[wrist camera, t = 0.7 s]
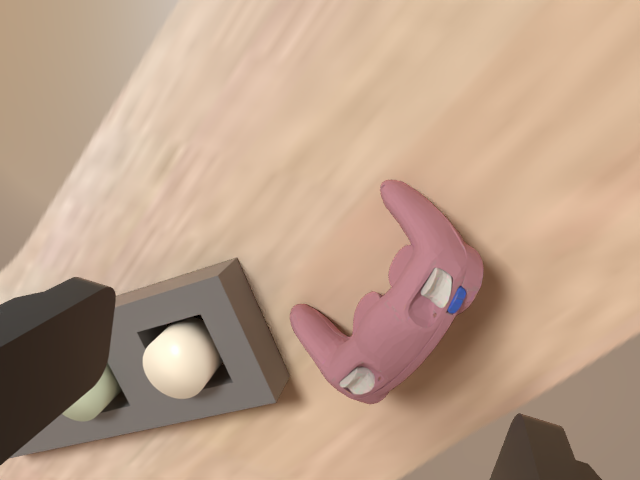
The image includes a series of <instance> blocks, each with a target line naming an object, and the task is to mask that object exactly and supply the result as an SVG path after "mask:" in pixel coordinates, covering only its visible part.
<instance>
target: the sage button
mask: <svg viewBox="0 0 640 480" xmlns="http://www.w3.org/2000/svg"><path fill="white" fill-rule="evenodd" d="M121 391H122V389H121V387H120V385H119V383H118V381H117V379H116V377H115V376H114V374H113V372H112V370H111V368H110V366H109V364H108V362H107V365H106V368H105V371H104V373H103V375H102V376H101V378H100V380H99V381H98V382H97V384H96V385H95V386H94V387H93V388H92V389H91V390H89V391H88V392H87V393H86V394H85V395H83V396H82V397H81V398H80V399H79V400H78V401H76V402H75V403H74V404H73V405H72V406H70V407H69V408H68V409H67V410H66V411H64V412H63V413H62V414H63V415H64V416H66V417H68V418H70V419H72V420H76V421H89V420H92V419H94V418H95V417H96V416H97V415H98V414H99V413H100V412H101V411H102V410H103V409H104V408H105V407H106V406H107V405H108V404H109V403H110V402H111V401H112V400H113V399H114V398H115V397H116V396H117V395H118V394H119V393H120V392H121Z"/></svg>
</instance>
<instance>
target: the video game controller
mask: <svg viewBox="0 0 640 480" xmlns="http://www.w3.org/2000/svg"><path fill="white" fill-rule="evenodd" d="M380 191H381V197H382V199H383V202H384V204H385V206H386V208H387V209H388V210H389V211H390V213H391V214H392V215H393V217H394V218H395V219H396V220H397V222H398V223H399V224H400V226H401V228H402V229H403V231H404V232H405V234H406V235H407V237H408V239H409V240H410V242H411V245H407V246H404V247H403V248H402V249H400V250H399V252H398V253H397V254H396V256H395V257H394V259H393V261H392V263H391V266H390V269H389V282H390V285H391V286H392V288H391V289H390V290H389V291H388V292H387V293H386V294H385V295H383V296H382V295H381V294H379V293H376V292H370V293H367V294H366V295H365V296H364V297H363V298H362V299H361V300H360V302H359V303H358V305H357V308H356V310H355V313H354V320H353V334H352V336H351V337H348V336H347V335H345V334H343V333H342V332H340V331H339V330H338V329H337V328H336V326H335V325H334V324H333V323H332V322H331V321H330V320H329V319H327V318H326V317H325V316H324V315H322V314H321V313H320V312H319V311H317V310H316V309H314V308H312V307H310V306H308V305H307V304H297V305H295V306H294V307H293V308H292V310H291V313H290V321H291V326H292V328H293V330H294V333H295V334H296V336H297V337H298V339H299V340H300V342H301V343H302V345H303V346H304V348H305V349H306V351H307V352H308V353H309V355H310V356H311V357H312V359H313V360H314V362H315V363H316V365H317V366H318V368H319V369H320V371H321V373H322V374H323V376H324V377H325V379H326V380H327V381H328V382H329V383H330V384H331V385H332V386H333V387H334V388H335V389H337V390H338V391H339V392H341V393H343V394H344V395H346V396H347V397H349V398H351V399H354V400H357V401H360V402H364V403H367V404H375V403H378V402H379V401H381V400H382V399H384V398H385V397H386V395H387V394H388V393H389V391H390V390H392V389H393V388H395V387H396V386H398V385H399V384H400V383H402V382H403V381H404V380H405V379H406V378H407V377H409V376H410V375H411V374H412V373H413V372H414V371H415V370H416V369H417V368H418V367H419V366H420V365H421V364H422V363H423V362H424V360H425V359H426V358H427V357H428V356H429V354H430V353H431V352H432V351H433V350H434V348H435V347H436V346H437V344H438V343H439V342H440V340H441V339H442V337H443V336H444V335H445V333H446V332H447V330H448V328H449V327H450V325H451V323H452V322H453V320H454V318H455V316H456V315H458V314H460V313H462V312H463V311H464V310H465V309H467V308H468V307H469V306H470V304H471V303H472V302H473V300H474V299H475V297H476V295H477V293H478V291H479V289H480V287H481V283H482V279H483V271H484V270H483V262H482V259H481V257H480V255H479V253H478V252H477V250H475V249H474V248H473V247H471V246H469V245H467V244H466V243H465V242H464V240H463V239H462V237H461V235H460V234H459V232H458V231H457V230H456V229H455V227H454V226H453V225H452V224H451V222H450V221H449V220H448V219H447V218H446V217H445V216H444V215H443V214H442V213H441V212H440V211H439V210H438V209H437V208H436V207H435V206H434V205H433V204H432V203H431V202H430V201H429V200H428V199H427V198H425V197H424V196H423V195H422V194H421V193H419V192H418V191H416V190H415V189H413V188H412V187H410V186H409V185H407V184H406V183H404V182H401V181H397V180H386V181H384V182H382V184H381V187H380Z"/></svg>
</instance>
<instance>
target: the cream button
mask: <svg viewBox="0 0 640 480" xmlns="http://www.w3.org/2000/svg"><path fill="white" fill-rule="evenodd" d="M222 362H223V360H222V358H221V356H220V354H219V352H218V350H217V348H216V346H215V343H214V341H213V339H212V337H211V335H210V333H209V331H208V329H207V327H206V325H205V322H204V321H203V320H201V319H198V318H194V317H189V318H185V319H182V320H178V321H175V322H173V323H172V324H170V325H169V326H168V327H167V328H166V329H165V330H164V331H163V332H162V333H161V334H160V335H159V336H158V337H157V338H156V339H155V340H154V341H153V342H152V343H151V344H149V346H148V347H147V348H146V350H145V352H144V355H143V368H144V371H145V374H146V376H147V378H148V380H149V381H150V382H151V384H152V385H153V386H154V387H155V388H156V389H157V390H159V391H160V392H162V393H163V394H165V395H167V396H170V397H173V398H177V399H187V398H191V397H193V396H195V395H197V394H198V393H199V392H200V391H201V390H202V389H203V387H204V386H205V385H206V383H207V382H208V381H209V380H210V378H211V377H212V376H213V374H214V373H215V372H216V370H217V369H218V368H219V366H220V365H221V364H222Z"/></svg>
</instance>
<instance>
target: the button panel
mask: <svg viewBox="0 0 640 480" xmlns="http://www.w3.org/2000/svg"><path fill="white" fill-rule="evenodd" d="M199 314H201V316H202V318H203V320H204V322H205V325H206V327H207V329H208V331H209V333H210V335H211V337H212V339H213V341H214V343H215V346H216V348H217V350H218V352H219V354H220V356H221V358H222V360H223V362H224V365H220V366H219V368H218V369H217V370H216V372H215V373H214V374H213V376H212V377H211V378H210V380H209V381H208V382H207V383H206V385H205V386H204V387H203V389H202V390H201V391H200V392H199V393H198V394H197V395H195V396H193V397H191V398H187V399H177V398H173V397H170V396H167V395H165V394H163V393H162V392H160V391H159V390H157V389H156V388H155V387H154V386H153V385H152V384H151V382H150V381H149V380H148V378H147V376H146V374H145V371H144V368H143V355H144V352H145V350H146V348H147V347H148V346H149V344H151V343H152V342H153V341H154V340H155V339H156V338H157V337H158V336H159V335H160V334H161V333H162V332H163V331H164V330H165V329H166V328H167V325H166V324H168V323H171V322H175V321H178V320H182V319H185V318H189V317H192V316H196V315H199ZM108 364H109V366H110V368H111V370H112V372H113V374H114V376H115V377H116V379H117V381H118V383H119V385H120V387H121V389H122V391H121V392H120V393H119V394H118V395H117V396H116V397H115V398H114V399H113V400H112V401H111V402H110V403H109V404H108V405H107V406H106V407H105V408H104V409H103V410H102V411H101V412H100V413H99V414H98V415H97V416H96V417H95V418H94V419H92V420H89V421H76V420H72V419H70V418H68V417H66V416H64V415H63V414H61V415H60V416H59V417H57V418H56V419H55V420H54V421H53V422H51V423H50V424H49V425H48V426H47V427H45V428H44V429H43V430H42V431H41V432H39V433H38V434H37V435H36V436H35V437H34V438H32V439H31V440H30V441H29V442H28V443H26V444H25V445H24V446H23V447H22V448H20V449H19V450H18V451H17V452H16V453H14V454H13V455H12V456H11V457H10V458H13V457H18V456H22V455H27V454H32V453H37V452H42V451H46V450H51V449H56V448H61V447H66V446H70V445H75V444H80V443H85V442H90V441H94V440H99V439H104V438H109V437H114V436H118V435H123V434H128V433H133V432H138V431H142V430H147V429H152V428H157V427H162V426H166V425H171V424H176V423H181V422H186V421H190V420H195V419H200V418H205V417H210V416H214V415H219V414H224V413H229V412H234V411H238V410H243V409H248V408H253V407H258V406H262V405H267V404H272V403H276V402H277V400H278V398H279V396H280V394H281V393H282V391H283V389H284V387H285V385H286V383H287V381H288V379H289V377H290V376H289V374H288V371H287V369H286V367H285V365H284V362H283V360H282V358H281V356H280V353H279V351H278V349H277V347H276V344H275V342H274V340H273V338H272V336H271V333H270V331H269V329H268V327H267V324H266V322H265V320H264V318H263V315H262V313H261V311H260V309H259V306H258V304H257V302H256V300H255V297H254V295H253V293H252V291H251V289H250V286H249V284H248V282H247V280H246V277H245V275H244V273H243V271H242V268H241V266H240V264H239V262H238V259H237V258H234V259H231V260H228V261H225V262H222V263H219V264H216V265H212V266H209V267H206V268H203V269H200V270H197V271H194V272H190V273H187V274H184V275H181V276H178V277H175V278H172V279H168V280H165V281H162V282H159V283H156V284H153V285H150V286H146V287H143V288H140V289H137V290H134V291H131V292H128V293H125V294H121V295H118V296H116V302H115V311H114V319H113V327H112V335H111V343H110V351H109V358H108Z"/></svg>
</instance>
